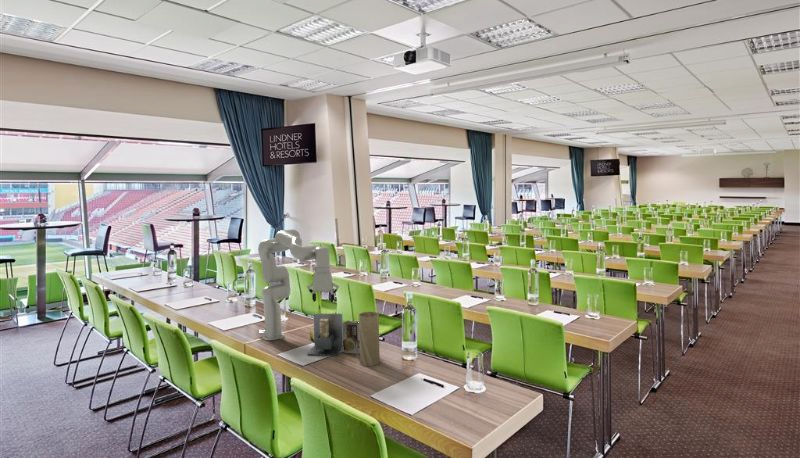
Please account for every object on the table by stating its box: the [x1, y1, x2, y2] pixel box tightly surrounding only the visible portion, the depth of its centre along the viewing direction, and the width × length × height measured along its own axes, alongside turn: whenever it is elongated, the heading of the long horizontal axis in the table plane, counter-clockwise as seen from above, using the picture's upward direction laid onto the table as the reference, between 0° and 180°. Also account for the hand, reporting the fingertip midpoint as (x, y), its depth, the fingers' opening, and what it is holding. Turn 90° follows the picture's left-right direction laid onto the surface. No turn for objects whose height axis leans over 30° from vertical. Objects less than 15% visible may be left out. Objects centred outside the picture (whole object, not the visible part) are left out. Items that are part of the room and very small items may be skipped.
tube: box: [358, 311, 381, 367], centre depth 243 cm, size 10×10×25 cm
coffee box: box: [342, 320, 360, 355], centre depth 260 cm, size 9×6×16 cm
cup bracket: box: [306, 312, 344, 357], centre depth 261 cm, size 16×16×19 cm
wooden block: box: [319, 319, 329, 338], centre depth 259 cm, size 4×4×14 cm
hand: (323, 301), depth 258 cm, fingers open, 9 cm apart
